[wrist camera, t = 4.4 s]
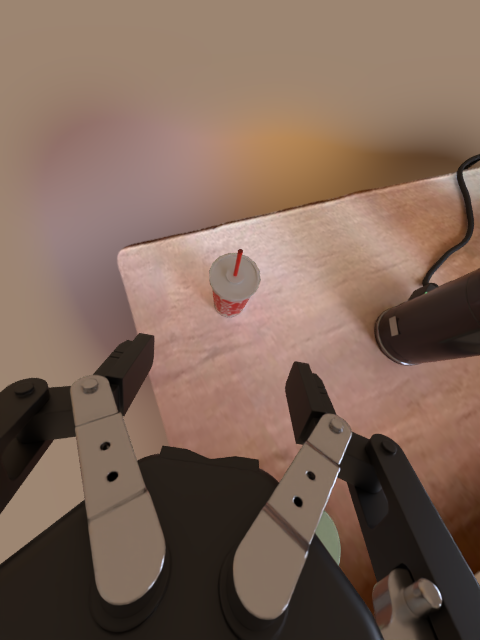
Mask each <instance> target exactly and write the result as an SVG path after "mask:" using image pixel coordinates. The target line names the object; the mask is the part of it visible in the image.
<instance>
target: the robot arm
mask: <svg viewBox="0 0 480 640" xmlns="http://www.w3.org/2000/svg"><path fill="white" fill-rule="evenodd" d="M478 161H480V154H479V155H476V156H473V157H471V158H469V159H468V160H466V161H465V162H464V163H463V164H462V165H461V166H460V167H459V169H458V171H457V180H458V184H459V187H460V189H461V192H462V194H463V197H464V201H465V207H466V213H467V220H468V229H467V233H466V236H465V238H464V239H463V240H462V241H461V242H460V243H459V244H457V245H456V246H454V247H453V248H451V249H450V250H448V251H447V252H446V253H445V254H444V255H443V256H442V257H441V258H440V259H439V260H438V261H437V262H436V263H435V264H434V265H433V266H432V268H431V269H430V270H429V271H428V273H427V274H426V276H425V277H424V279H423V287H421V288H419V289H417V290H415V291H414V292H413V293H412V295H411V296H410V298H409V300H408V301H406V302H404V303H402V304H400V305H398V306H396V307H394V308H390V309H388V310H386V311H384V312H383V313H382V314H381V315H380V316H379V317H378V319H377V321H376V324H375V336H376V340H377V343H378V345H379V347H380V348H381V350H382V351H383V352H384V354H385V355H386V356H387V357H389V358H390V359H391V360H393V361H394V362H396V363H399V364H402V365H417V364H421V363H428V362H436V361H443V360H450V359H457V358H465V357H472V356H479V355H480V268H479V269H477V270H475V271H473V272H470V273H468V274H466V275H464V276H462V277H459V278H457V279H455V280H453V281H450V282H448V283H445V284H443V285H441V286H438V285H437V284H435V283H429V280H430V278H431V276H432V275H433V274H434V272H435V271H436V270H437V269H438V268H439V267H440V266H441V265H442V263H443V262H444V261H445V260H446V259H447V258H448V257H449V256H450V255H451V254H452V253H453V252H455V251H457V250H458V249H460V248H461V247H463V246H464V245H465V244H466V243H467V242H468V241H469V240H470V238H471V236H472V233H473V229H474V217H473V211H472V205H471V199H470V195H469V192H468V190H467V187H466V185H465V182H464V179H463V174H462V173H463V170H467V169H468V168H470V167H471V166H472V165H474V164H475V163H477V162H478ZM153 359H154V336H153V335H148V334H143V333H139V334H138V335H137V336H136V338H135V339H134V340H133V341H129V340H127V341H125V342H123V343H121V344H120V345H119V346H118V347H117V348H116V349H115V350H114V352H112V353H111V355H110V356H109V357H108V358H107V359H106V360H105V361H104V363H103V364H102V365H101V366H100V367H99V368H98V370H97V371H96V372H95V373H94V374H93V375H90V376H86V377H83V378H80V379H78V380H77V381H76V382H74V383H73V384H72V386H65V387H52V388H48V384H47V382H46V381H45V380H43V379H39V378H29V379H23V380H20V381H17V382H15V383H12V384H11V385H9V386H8V387H6V388H5V389H4V390H3V391H2V392H0V514H1V512H2V511H3V510H4V508H5V507H6V505H7V504H8V503H9V501H10V500H11V499H12V497H13V496H14V494H15V493H16V491H17V490H18V489H19V487H20V486H21V485H22V483H23V482H24V481H25V479H26V478H27V476H28V475H29V474H30V472H31V471H32V469H33V468H34V467H35V465H36V464H37V463H38V461H39V460H40V458H41V457H42V456H43V454H44V453H45V451H46V450H47V449H48V447H49V446H50V445H51V443H52V442H53V440H54V439H61V438H68V437H75V436H76V440H77V447H78V455H79V462H80V469H81V476H82V483H83V491H84V498H85V500H84V501H82V502H81V503H80V504H78V505H77V506H76V507H74V508H73V509H72V510H71V511H69V512H68V513H67V514H65V515H64V516H63V517H61V518H60V519H59V520H58V521H56V522H55V523H54V524H52V525H51V526H50V527H48V528H47V529H46V530H44V531H43V532H42V533H41V534H39V535H38V536H37V537H35V538H34V539H33V540H31V541H30V542H29V543H28V544H26V545H25V546H24V547H22V548H21V549H20V550H19V551H17V552H16V553H14V554H13V555H12V556H11V557H9V558H8V559H7V560H5V561H4V562H3V563H1V564H0V640H480V585H479V584H478V582H477V580H476V578H475V577H474V575H473V573H472V571H471V570H470V568H469V566H468V564H467V563H466V561H465V559H464V557H463V556H462V554H461V552H460V550H459V549H458V547H457V545H456V543H455V542H454V540H453V538H452V536H451V535H450V533H449V531H448V529H447V528H446V526H445V524H444V522H443V520H442V519H441V517H440V515H439V513H438V512H437V510H436V508H435V506H434V505H433V503H432V501H431V499H430V498H429V496H428V494H427V492H426V491H425V489H424V487H423V485H422V484H421V482H420V480H419V478H418V477H417V475H416V473H415V471H414V470H413V468H412V466H411V464H410V463H409V461H408V459H407V457H406V456H405V454H404V452H403V451H402V449H401V448H400V446H399V445H398V444H397V443H396V442H394V441H393V440H392V439H390V438H389V437H387V436H385V435H382V434H374V435H372V437H371V438H370V439H367V438H365V437H363V436H360V435H358V434H356V433H354V432H352V431H351V428H350V426H349V425H348V423H347V422H346V421H345V420H343V419H342V418H341V417H339V416H337V415H336V412H335V410H334V408H333V405H332V403H331V401H330V398H329V396H328V395H327V391H326V389H325V386H324V384H323V382H322V380H321V379H320V378H319V377H318V376H317V374H314V373H312V371H311V369H310V366H309V364H307V363H302V362H296V361H295V362H294V363H293V365H292V368H291V371H290V373H289V376H288V379H287V381H286V386H285V392H286V397H287V402H288V407H289V412H290V417H291V422H292V427H293V431H294V436H295V441H296V444H302V445H303V446H302V448H301V449H300V451H299V452H298V454H297V456H296V457H295V459H294V460H293V462H292V463H291V465H290V467H289V468H288V470H287V471H286V473H285V475H284V476H283V478H282V479H281V481H280V483H279V482H278V481H277V480H276V479H275V478H274V477H273V476H271V475H270V474H269V473H267V472H265V471H264V470H262V469H260V468H259V460H257V459H250V458H243V457H237V456H234V457H225V458H217V459H209V458H206V457H204V456H202V455H199V454H197V453H195V452H192V451H190V450H188V449H182V448H176V447H169V446H162V449H161V452H160V454H154V455H150V456H147V457H144V458H142V459H140V460H138V461H137V459H136V456H135V453H134V450H133V447H132V444H131V441H130V438H129V435H128V432H127V429H126V426H125V422H124V419H123V416H125V414H126V412H127V410H128V408H129V407H130V405H131V403H132V401H133V400H134V398H135V396H136V394H137V392H138V391H139V389H140V387H141V385H142V383H143V382H144V380H145V378H146V376H147V375H148V373H149V371H150V369H151V367H152V364H153ZM337 477H338V478H340V479H342V480H344V481H346V482H347V484H348V488H349V491H350V494H351V498H352V501H353V504H354V507H355V511H356V514H357V517H358V520H359V524H360V527H361V530H362V534H363V537H364V540H365V543H366V547H367V550H368V553H369V556H370V560H371V563H372V566H373V569H374V573H375V576H376V579H377V583H376V585H375V586H374V588H373V595H372V598H373V605H374V611H375V612H374V617H375V619H374V617H373V615H372V613H371V612H370V610H369V609H368V607H367V605H366V604H365V602H364V601H363V600H362V598H361V597H360V595H359V594H358V593H357V591H356V590H355V588H354V587H353V586H352V584H351V583H350V581H349V580H348V578H347V577H346V576H345V574H344V573H343V571H342V570H341V569H340V567H339V566H338V564H337V563H336V562H335V560H334V559H333V557H332V556H331V555H330V553H329V552H328V550H327V549H326V547H325V546H324V545H323V543H322V542H321V540H320V539H319V538H318V536H317V535H316V533H315V531H316V529H317V526H318V524H319V521H320V519H321V516H322V514H323V511H324V509H325V506H326V504H327V501H328V499H329V496H330V494H331V491H332V489H333V486H334V483H335V481H336V478H337Z"/></svg>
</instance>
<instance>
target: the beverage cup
mask: <svg viewBox="0 0 480 640" xmlns="http://www.w3.org/2000/svg"><path fill="white" fill-rule="evenodd" d="M242 253H243V250H242V249H239V250H238V253H228V254H225V255H222V256H220V257H219V258H217V259H216V260H215V261H214V262H213V264H212V266H211V268H210V270H209V280H210V285H211V287H212V289H213V297H214V306H215V308H216V310H217V312H218V313H220V314H221V315H222V316H225V317H234V316H236V315H238V314H239V313H240V312H241V311H242V310H243V308H244V307H245V305H246V303H247V302H248V300H249V298H250V297H251V296H252V295H253V294H254V293H255V292H256V290H257V289H258V286H259V283H260V281H261V279H260V271H259V269H258V267H257V265H256V263H255V262H254V261H252V260H251V259H250V258H249V257H247V256H245V255H242Z"/></svg>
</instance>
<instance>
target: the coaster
mask: <svg viewBox="0 0 480 640" xmlns="http://www.w3.org/2000/svg"><path fill="white" fill-rule="evenodd" d="M315 533H316V535H317V536H318V538H319V539H320V540H321V542H322V543H323V545H324V546H325V547H326V549H327V550H328V552H329V553H330V555H331V556H332V557H333V559H334V560H335V562H336V563H337V564H338V566H339V561H340V540H339V535H338V532H337V529H336V527H335V525H334V523H333V521H332V519H331V518H330V517H329V515H328V514H327V513H326V512H325V511H323V514H322V516H321V519H320V521H319V524H318V526H317V529H316V531H315Z"/></svg>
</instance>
